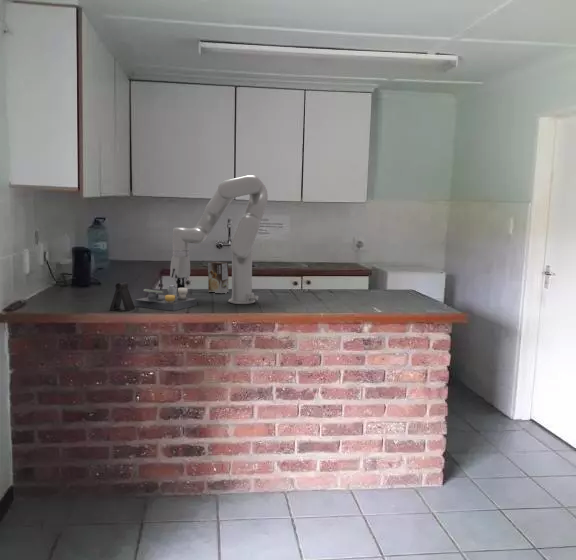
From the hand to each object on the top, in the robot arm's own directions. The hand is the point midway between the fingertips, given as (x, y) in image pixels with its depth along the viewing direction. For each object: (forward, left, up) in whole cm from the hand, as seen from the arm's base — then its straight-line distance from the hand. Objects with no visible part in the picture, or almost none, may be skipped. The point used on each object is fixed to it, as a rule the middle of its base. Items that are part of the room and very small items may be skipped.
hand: (180, 292), depth 281 cm
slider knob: (0, +7, -1) cm, 7 cm away
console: (-1, +12, -5) cm, 13 cm away
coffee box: (0, -32, -5) cm, 32 cm away
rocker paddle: (+6, +12, 0) cm, 14 cm away
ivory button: (-7, +8, -2) cm, 11 cm away
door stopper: (+9, +30, -5) cm, 31 cm away
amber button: (-7, +17, -4) cm, 19 cm away
